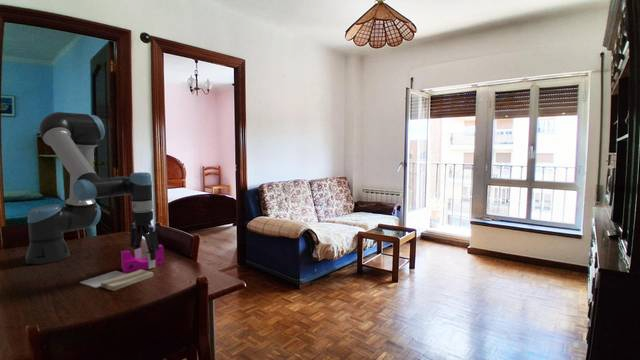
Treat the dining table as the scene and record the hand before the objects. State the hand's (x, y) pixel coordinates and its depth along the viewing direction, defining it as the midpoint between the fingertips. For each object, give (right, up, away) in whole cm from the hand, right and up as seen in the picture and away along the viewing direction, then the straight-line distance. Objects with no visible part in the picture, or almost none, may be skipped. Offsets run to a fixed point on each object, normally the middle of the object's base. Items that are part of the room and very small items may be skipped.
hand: (145, 265), depth 138 cm
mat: (-8, -2, -13) cm, 15 cm away
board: (+1, -2, -15) cm, 15 cm away
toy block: (0, -1, 0) cm, 1 cm away
